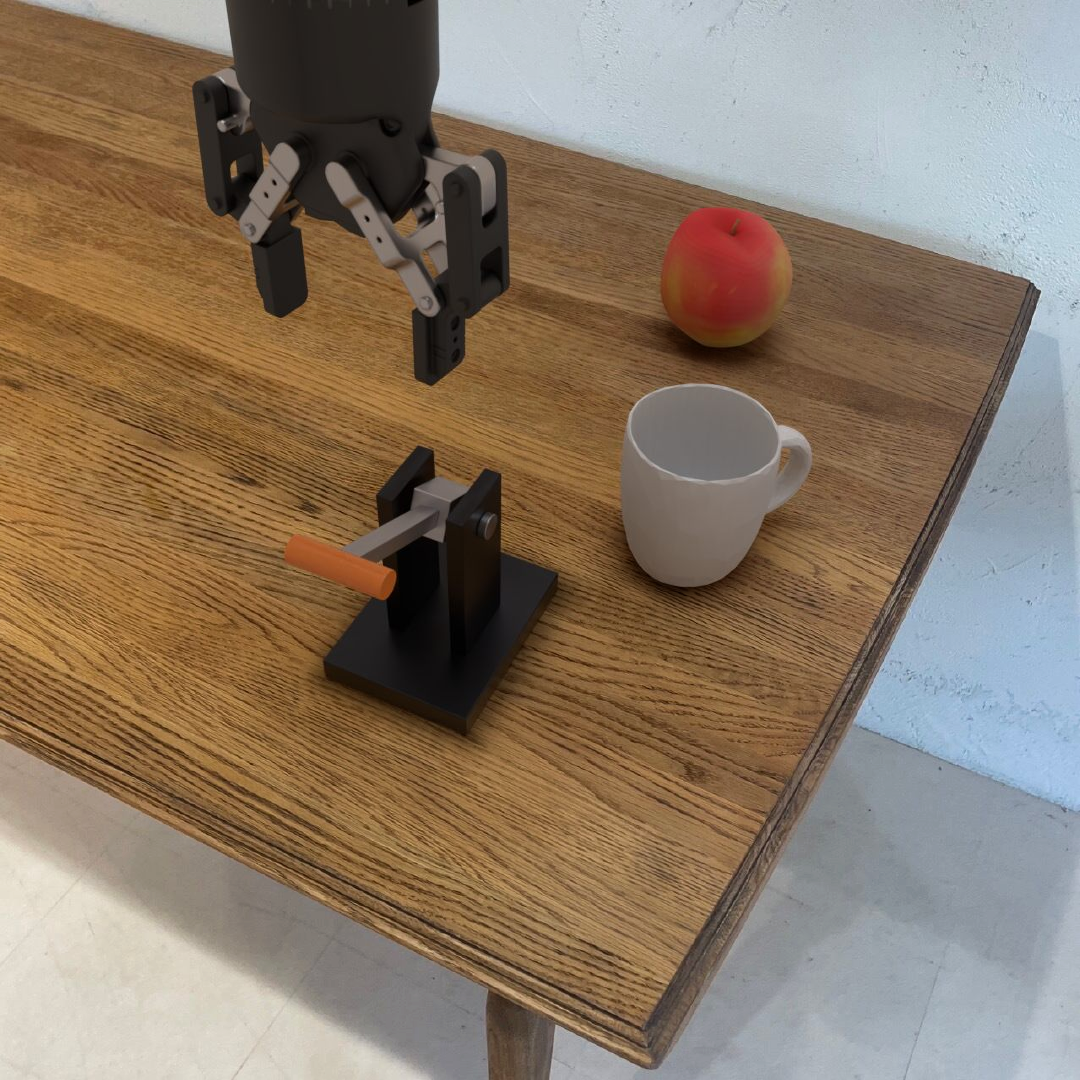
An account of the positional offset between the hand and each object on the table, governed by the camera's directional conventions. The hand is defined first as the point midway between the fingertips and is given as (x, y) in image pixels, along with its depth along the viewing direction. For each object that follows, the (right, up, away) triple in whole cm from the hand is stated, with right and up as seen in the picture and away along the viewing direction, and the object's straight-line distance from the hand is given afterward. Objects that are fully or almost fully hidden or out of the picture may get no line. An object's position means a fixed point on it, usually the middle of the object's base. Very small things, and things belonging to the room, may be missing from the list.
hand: (360, 341), depth 51 cm
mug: (+19, -9, +22) cm, 30 cm away
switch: (+1, -10, +5) cm, 11 cm away
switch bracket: (+2, -14, +16) cm, 22 cm away
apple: (+22, +7, +38) cm, 44 cm away
